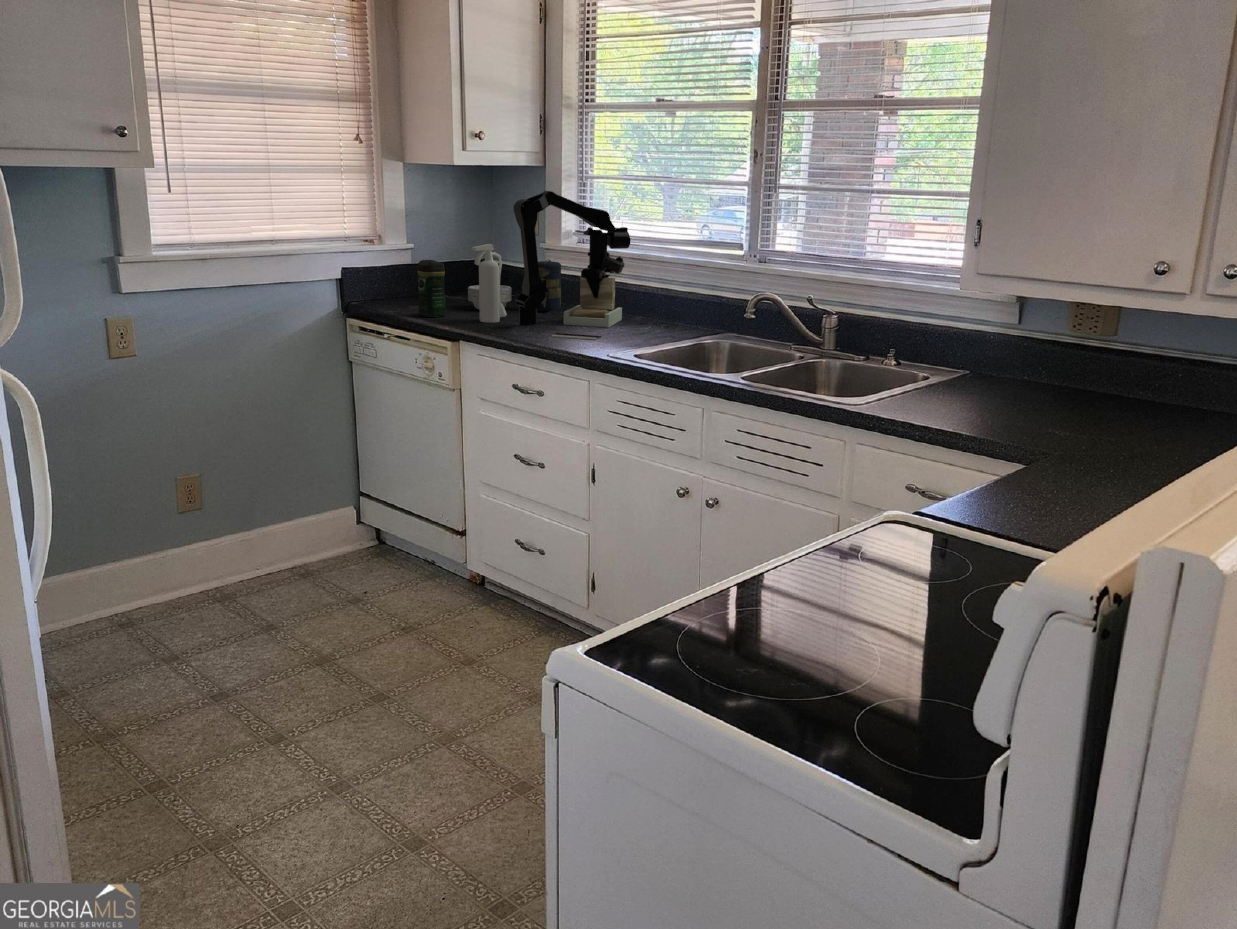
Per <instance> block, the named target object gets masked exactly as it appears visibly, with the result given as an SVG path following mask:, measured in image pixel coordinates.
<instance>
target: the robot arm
mask: <svg viewBox="0 0 1237 929" xmlns="http://www.w3.org/2000/svg"><path fill="white" fill-rule="evenodd" d="M550 206H552V207H554V208H557V209H559V210H562V211H564V212H565V213H569V214H571V215H573V216H576V217H578V218H579V219H581V220H582V221H583V222H584V223H586V224H587V225H589V226H591V227H589V226H588V227H587V229H586V230H585V231H584V232H583V235H585V236H589V249H588V250H589V252H587V256H589V260H588V263H589V264H588V265H587V267H586V268H583V269H582V270H581V271H580V277H582V278H585V279H586V280H587V282H588V284H589V286H590V289H591V291H592V294H593V296H594V298H598V294H599V288H600V282H601V281H602V280H603V279H604V278H605V277H607V278H610V277H611V274H613V273H615V274H617V275H618V274H620V273H622V272H623V270H624V268H625V262H624V259H623V257H621V256H617V257H616V258H614V257H611V256H610V252H609V251H608V248H610V249H612V250H613V249H614V250H618V249H619V250H620V249H621V250H622V249H623V250H624V249H629V247H630V246H631V237H630V233H629V231H628V227H615V225H614V223H613V222H612V220H611V216H610V213H609V212H608V211H607V210H604V209H600V208H595V207H594V208H593V207H589V206H585V205H583V204H581V203H578V202H576V201H574V200H571V199H569V198H566V197H564V196H562V195H559V194H557V193H555V192H554V191H551V190H544V191H543V192H541V193H539V194H536V195H534V196H531V197H528V198H526V199H524V198H522V199H518V200H516V202H515V203H514V205H513V214H514V217H515V220H516V223H517V225H518V227H519V230H520V238H521V248H522V255H523V256H522V257H523V268H524V269H523V270H524V277H523V281H522V286H521V288H522V290H521V292H520V294H519V295H518V296H517V297H515V299H514V301H515V304H516V306H517V307H518V323H517V324H516V325H515V327H517V326H519V325H520V326H535V325H537V324H538V310H537V309H539V308H540V306H541V303H542V301H543V300H544V299H545V297H546V292H548V291H547V289H546V280H545V279H542V278H541V277H540V275H539V267H538V262H539V260H538V259H539V258H538V248H537V240H536V238H537V237H536V226H537V223H538V215H539V214H538V213H540V212H542V211H543V210H545V209H546V208H548V207H550ZM593 228H598V229H593ZM603 231H606V232H603ZM607 273H610V274H607Z"/></svg>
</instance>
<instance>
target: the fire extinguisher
mask: <svg viewBox="0 0 1237 929" xmlns="http://www.w3.org/2000/svg"><path fill="white" fill-rule="evenodd" d="M471 251H475V252H477V251H479V252H478V253H477V255H476V257H475V259H474V265H476V266H478V285H479V308H480V310H479V322H482V323H490V324H491V323H492V324H493V323H499V322H500V319H501V318H503V317H505V318H506V316H507V311H506V309H505V308H504V307H503V304H501V302H500V298H499V297H500V285H501V274H502V268H503V262H502V256H501V255H500V253H497V252H496V251H495V250H494V245H493V244H491V243H486V244H481V245H477V246H472V247H471ZM492 251H495V252H492ZM484 255H485V256H484ZM493 256H495V257H497V258H498V262H497V261H495V260H494V258H493ZM483 257H484V260H482V258H483ZM481 260H482V261H481Z"/></svg>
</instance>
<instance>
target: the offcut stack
mask: <svg viewBox="0 0 1237 929" xmlns="http://www.w3.org/2000/svg"><path fill="white" fill-rule="evenodd" d="M607 311H608V310H607V309H592V308H582V309H580V308H577V309H575V310H574V314H572V316H573V317H588V318H603V319H605V314H607Z"/></svg>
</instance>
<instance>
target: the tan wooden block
mask: <svg viewBox="0 0 1237 929" xmlns="http://www.w3.org/2000/svg"><path fill="white" fill-rule="evenodd" d="M579 281H580V283H579V290H580V292H579V305H580V308H582V309H596V310H607V311H609V310H611V311H613V310H615V309H616V308H615V307H616V306H615V305H616V301H615V300H616V277H608V278H607V277H605V278H604V279H603V280H602V281H601V282H600V288H599V294H598V298H594V296H593V294H592V291H591V289H590V286H589V284H588V282H587V280H586V279H585V278H582V277H581V276H580V280H579Z"/></svg>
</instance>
